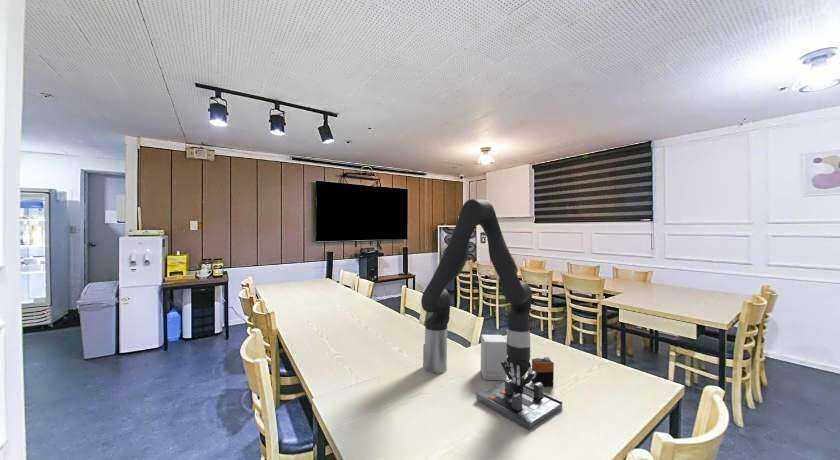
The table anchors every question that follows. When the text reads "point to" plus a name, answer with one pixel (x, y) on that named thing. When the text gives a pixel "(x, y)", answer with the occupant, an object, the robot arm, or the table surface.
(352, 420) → the table surface
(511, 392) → the breaker
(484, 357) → the supplement box
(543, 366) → the battery
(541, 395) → the breaker
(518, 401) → the breaker
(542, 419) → the panel
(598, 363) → the table surface
